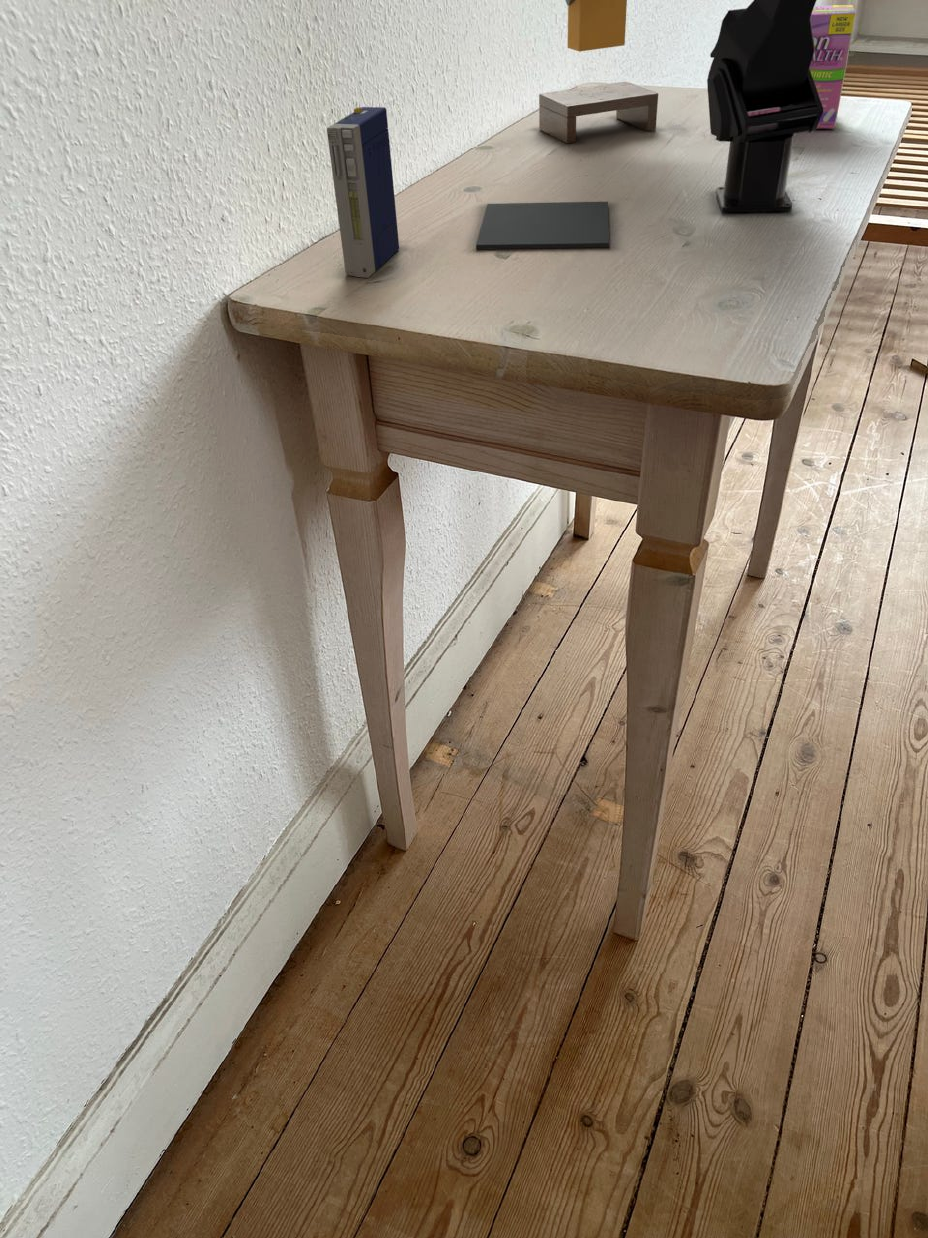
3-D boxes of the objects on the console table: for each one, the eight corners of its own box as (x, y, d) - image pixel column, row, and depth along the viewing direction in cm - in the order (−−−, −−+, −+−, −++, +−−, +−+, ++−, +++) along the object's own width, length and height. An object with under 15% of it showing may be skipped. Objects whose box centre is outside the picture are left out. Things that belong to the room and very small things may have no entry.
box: (743, 129, 112) (758, 13, 104) (744, 118, 116) (759, 5, 109) (835, 130, 110) (857, 11, 102) (832, 118, 114) (853, 3, 106)
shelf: (655, 129, 114) (658, 92, 112) (566, 143, 111) (567, 106, 109) (624, 116, 120) (626, 81, 117) (538, 129, 117) (539, 93, 115)
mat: (609, 247, 84) (609, 242, 84) (476, 249, 85) (476, 244, 85) (607, 205, 93) (607, 201, 93) (487, 207, 94) (487, 203, 94)
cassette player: (376, 247, 87) (361, 102, 79) (400, 248, 86) (386, 103, 79) (344, 276, 82) (324, 124, 74) (369, 278, 81) (351, 125, 73)
